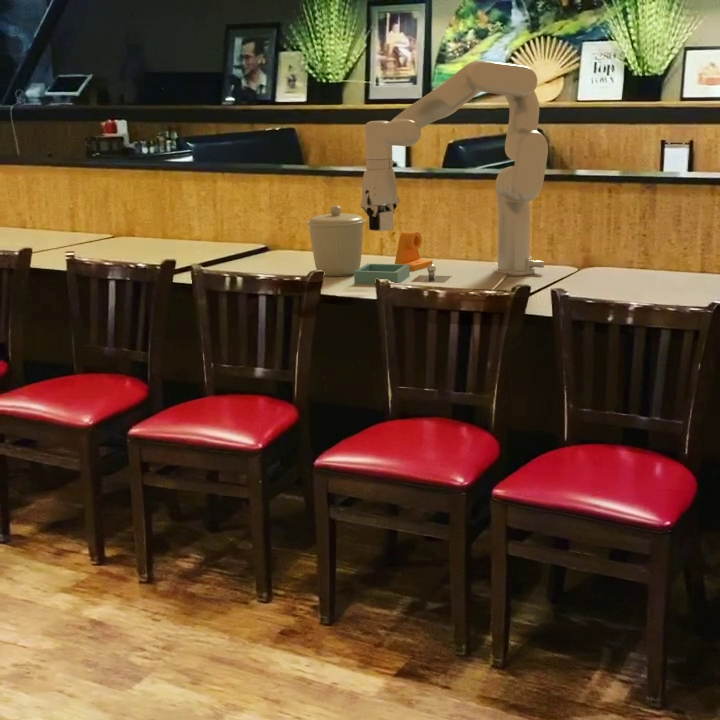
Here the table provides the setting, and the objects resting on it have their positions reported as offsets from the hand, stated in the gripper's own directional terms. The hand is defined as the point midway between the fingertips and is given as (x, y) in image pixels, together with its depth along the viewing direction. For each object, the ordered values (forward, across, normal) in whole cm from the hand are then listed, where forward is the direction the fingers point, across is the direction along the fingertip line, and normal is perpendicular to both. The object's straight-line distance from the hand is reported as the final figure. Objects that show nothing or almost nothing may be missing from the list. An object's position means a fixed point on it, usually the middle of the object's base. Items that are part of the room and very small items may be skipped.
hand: (381, 228), depth 304 cm
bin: (+16, 0, 0) cm, 16 cm away
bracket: (+17, -21, -7) cm, 27 cm away
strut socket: (+1, 0, 0) cm, 1 cm away
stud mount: (+16, -10, +10) cm, 22 cm away
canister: (+16, -2, -22) cm, 27 cm away
